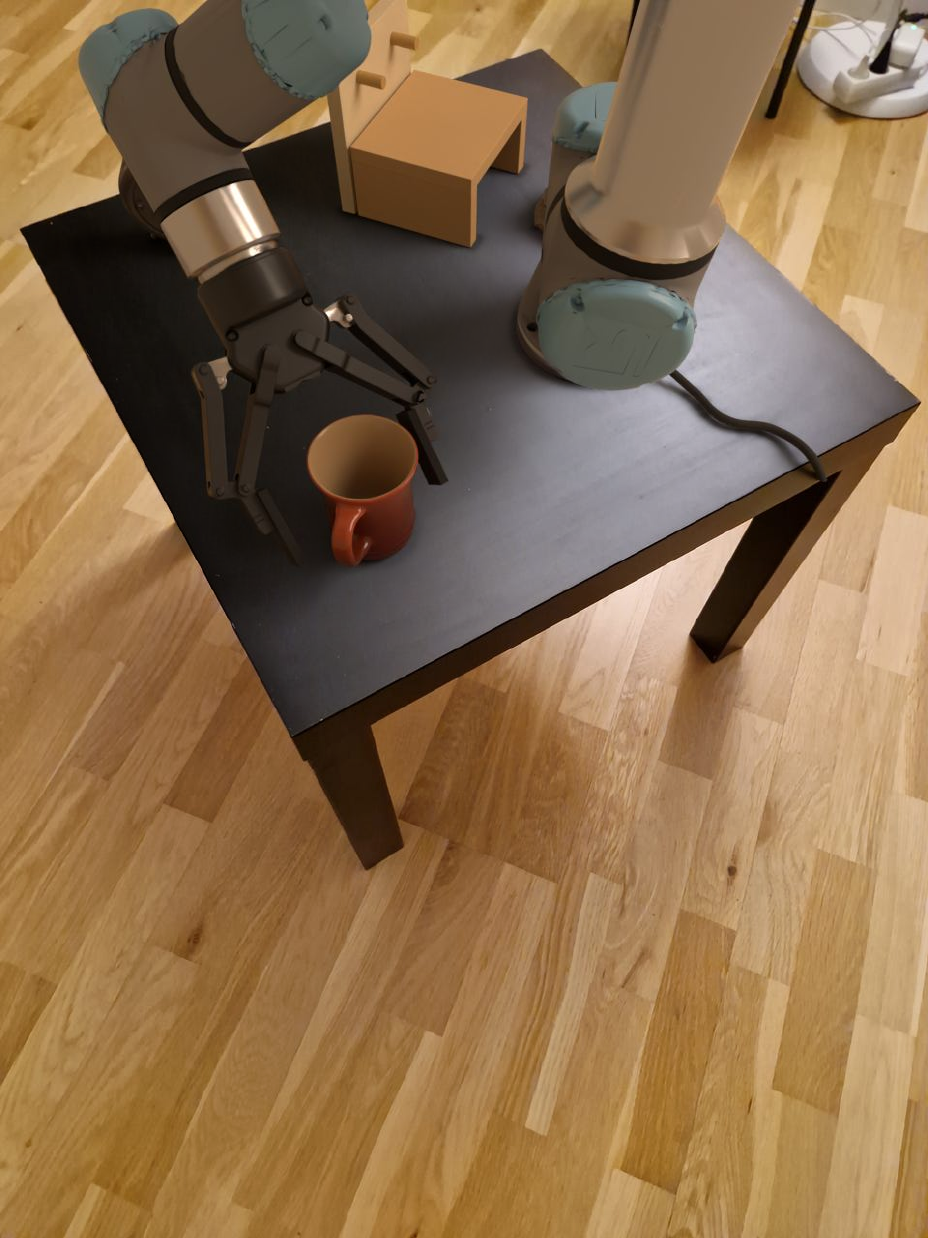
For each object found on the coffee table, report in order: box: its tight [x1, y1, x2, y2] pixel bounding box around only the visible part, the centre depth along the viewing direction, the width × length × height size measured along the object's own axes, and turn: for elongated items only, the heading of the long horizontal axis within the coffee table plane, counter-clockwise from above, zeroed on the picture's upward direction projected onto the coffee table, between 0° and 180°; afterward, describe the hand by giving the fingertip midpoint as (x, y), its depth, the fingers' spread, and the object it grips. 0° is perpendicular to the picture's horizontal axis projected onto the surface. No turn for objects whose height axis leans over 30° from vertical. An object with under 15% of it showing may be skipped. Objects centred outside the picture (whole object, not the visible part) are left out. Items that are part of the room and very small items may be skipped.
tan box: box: [326, 0, 529, 248], centre depth 90 cm, size 16×16×16 cm
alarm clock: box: [117, 157, 168, 241], centre depth 85 cm, size 11×5×16 cm, turn 92°
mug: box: [305, 413, 419, 568], centre depth 68 cm, size 12×9×10 cm
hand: (371, 522), depth 68 cm, fingers open, 13 cm apart
